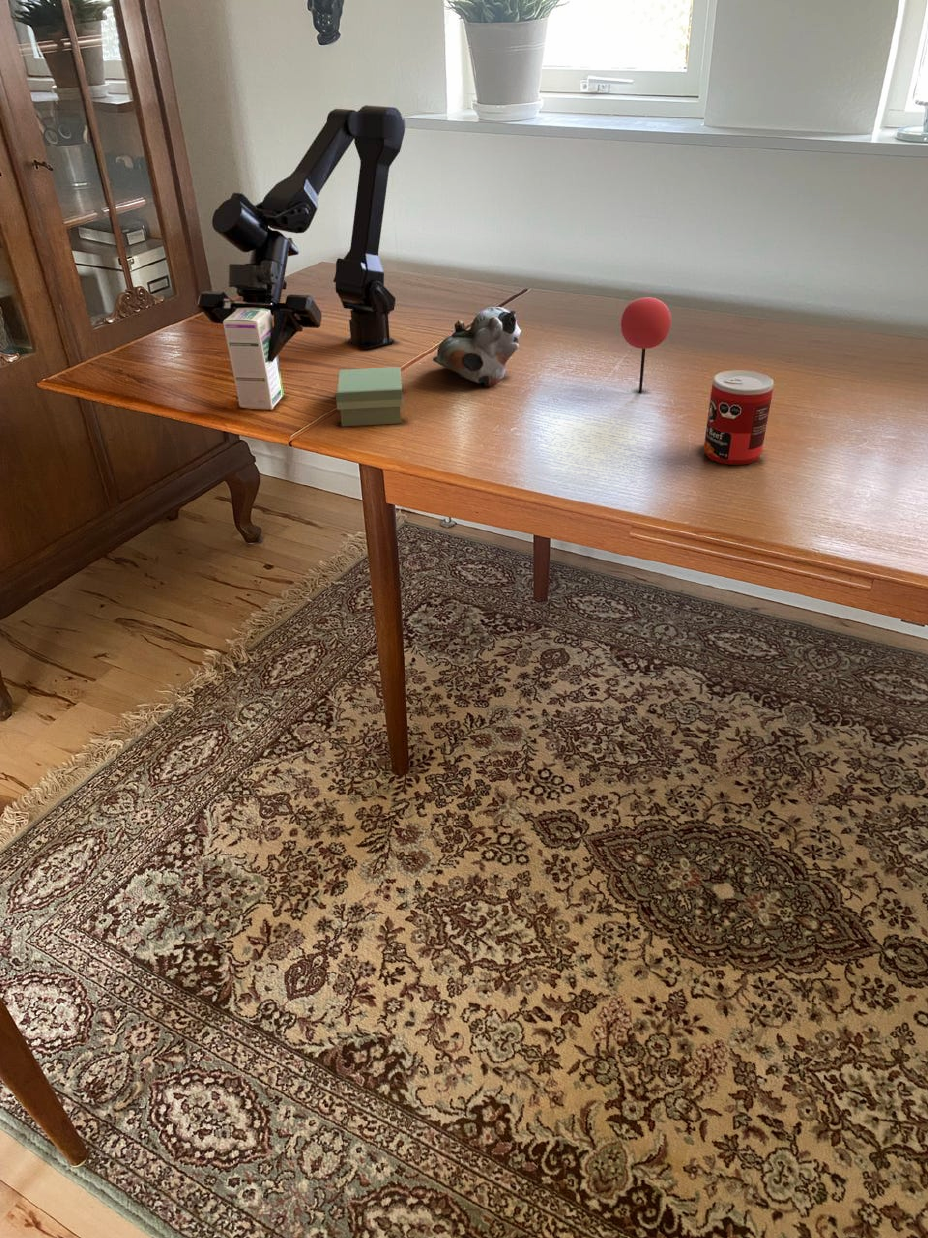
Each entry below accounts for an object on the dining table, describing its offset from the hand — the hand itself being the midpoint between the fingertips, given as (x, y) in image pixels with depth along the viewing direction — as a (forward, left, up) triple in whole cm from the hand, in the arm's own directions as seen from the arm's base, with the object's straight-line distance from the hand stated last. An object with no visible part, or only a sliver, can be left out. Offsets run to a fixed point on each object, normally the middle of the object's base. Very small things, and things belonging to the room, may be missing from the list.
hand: (251, 359), depth 145 cm
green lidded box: (-14, +12, -8) cm, 20 cm away
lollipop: (-52, +35, -8) cm, 63 cm away
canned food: (-45, +60, -8) cm, 75 cm away
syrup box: (-1, -1, -8) cm, 8 cm away
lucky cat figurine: (-36, +12, -8) cm, 38 cm away
